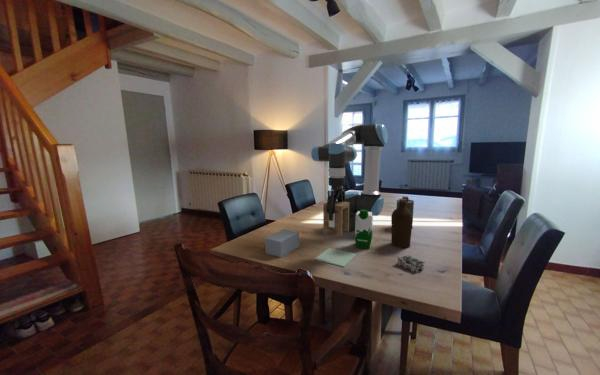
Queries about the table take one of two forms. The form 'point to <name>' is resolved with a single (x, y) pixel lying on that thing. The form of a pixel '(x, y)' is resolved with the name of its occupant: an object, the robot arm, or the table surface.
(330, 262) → the mat
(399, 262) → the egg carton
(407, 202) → the canister
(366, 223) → the milk carton
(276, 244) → the blue-grey rectangular block
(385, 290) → the table surface
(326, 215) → the grooved wooden block
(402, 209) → the olive oil
